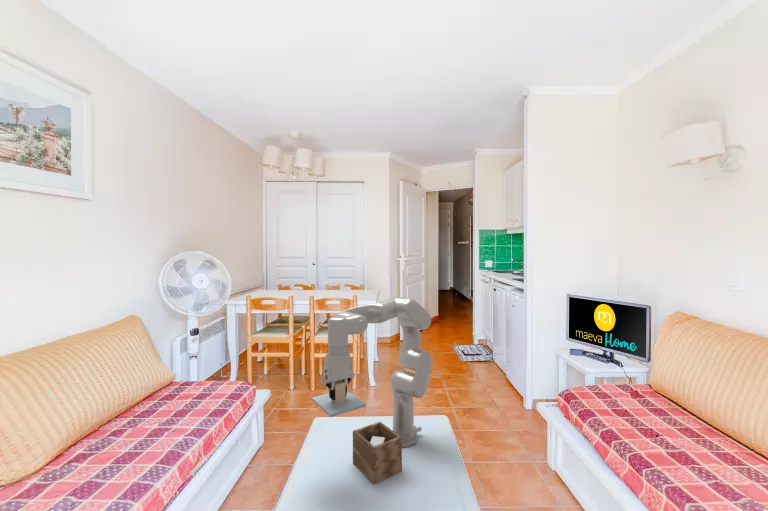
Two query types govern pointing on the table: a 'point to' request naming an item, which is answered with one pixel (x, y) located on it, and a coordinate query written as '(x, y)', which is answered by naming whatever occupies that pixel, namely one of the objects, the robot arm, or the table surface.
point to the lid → (338, 401)
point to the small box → (377, 440)
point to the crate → (377, 452)
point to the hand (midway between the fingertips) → (338, 397)
